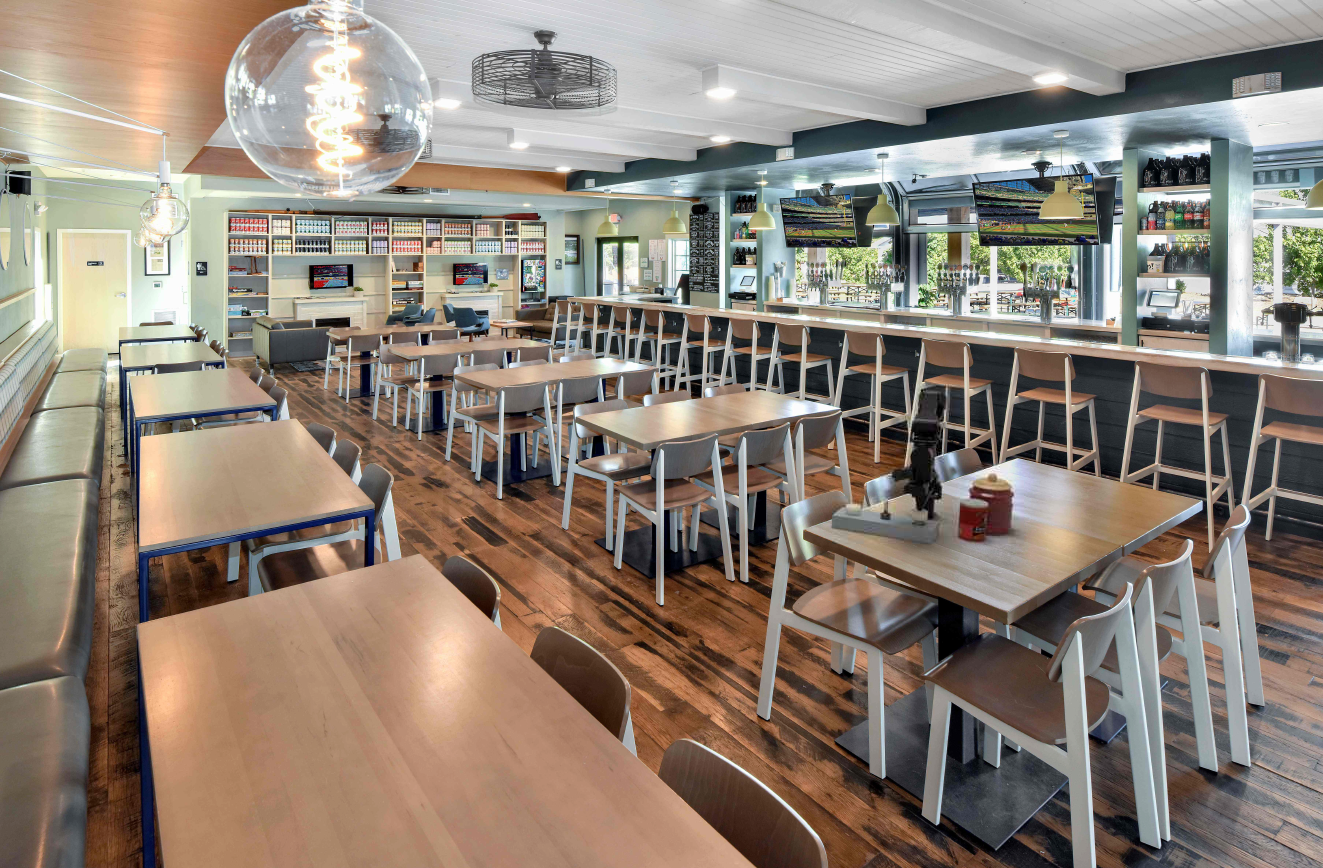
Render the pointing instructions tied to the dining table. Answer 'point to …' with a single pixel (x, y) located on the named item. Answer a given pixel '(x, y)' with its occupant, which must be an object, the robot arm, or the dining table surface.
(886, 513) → the pot stem
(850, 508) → the knob left
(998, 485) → the canister
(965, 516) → the canned food
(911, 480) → the robot arm
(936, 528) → the mount
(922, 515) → the knob right
